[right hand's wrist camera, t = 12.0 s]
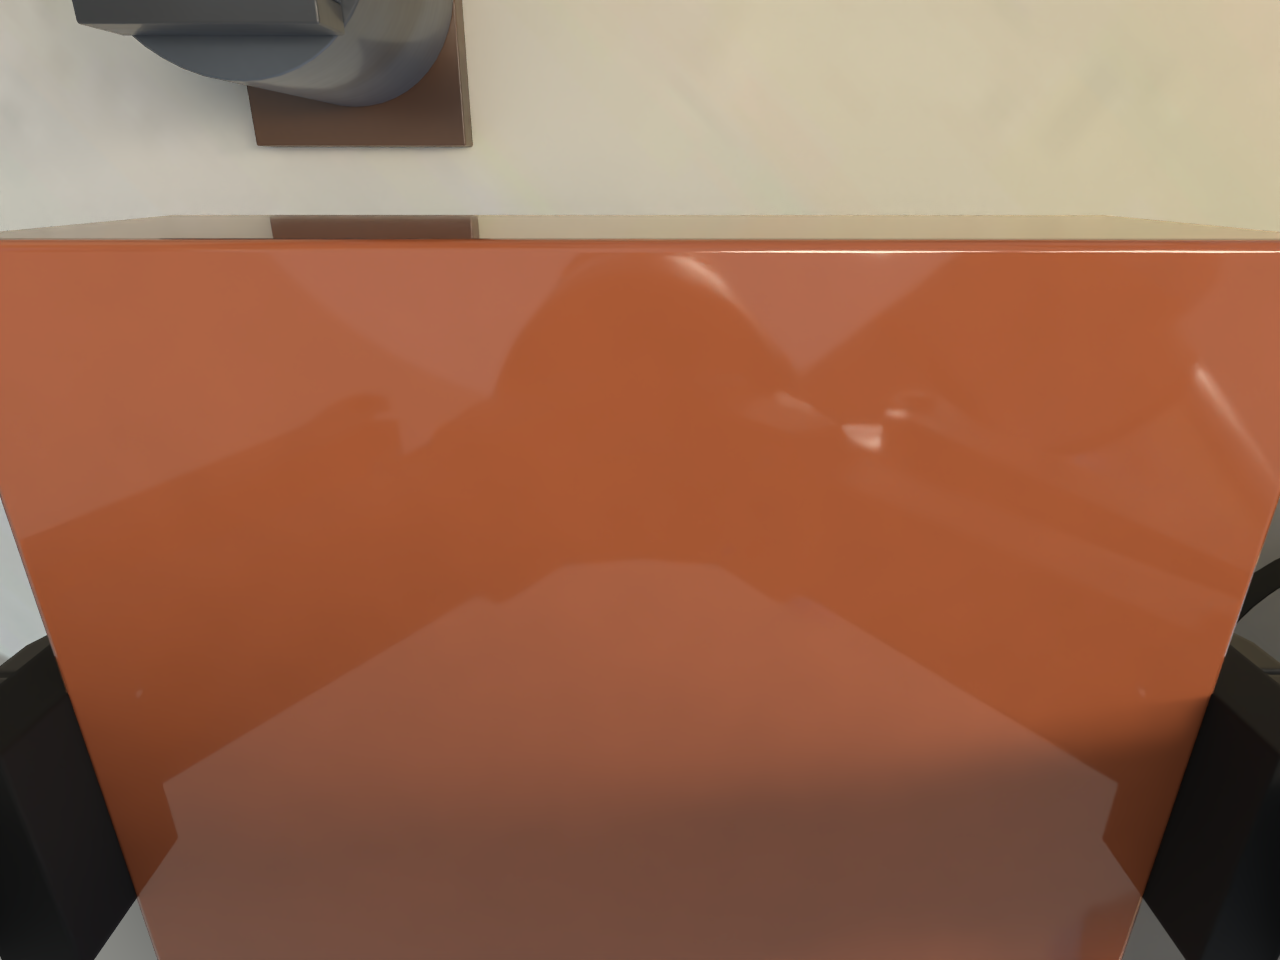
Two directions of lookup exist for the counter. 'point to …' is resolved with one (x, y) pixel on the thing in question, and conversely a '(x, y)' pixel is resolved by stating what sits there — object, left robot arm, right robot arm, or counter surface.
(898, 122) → the counter surface
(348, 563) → the orange square block
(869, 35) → the counter surface
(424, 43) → the caddy
